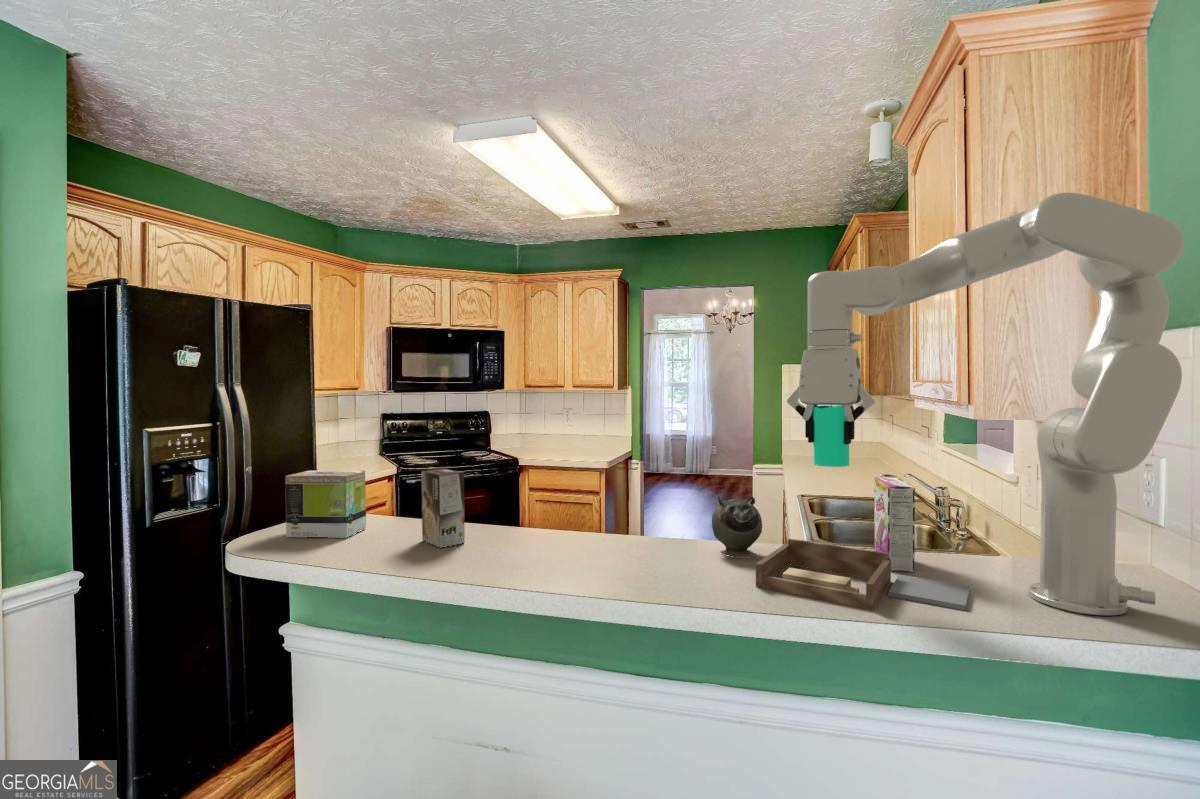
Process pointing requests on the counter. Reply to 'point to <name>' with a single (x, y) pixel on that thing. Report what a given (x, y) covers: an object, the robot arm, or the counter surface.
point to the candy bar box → (895, 522)
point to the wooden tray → (828, 560)
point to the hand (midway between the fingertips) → (829, 441)
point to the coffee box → (443, 507)
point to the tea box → (325, 503)
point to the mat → (931, 591)
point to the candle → (830, 437)
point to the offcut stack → (819, 579)
